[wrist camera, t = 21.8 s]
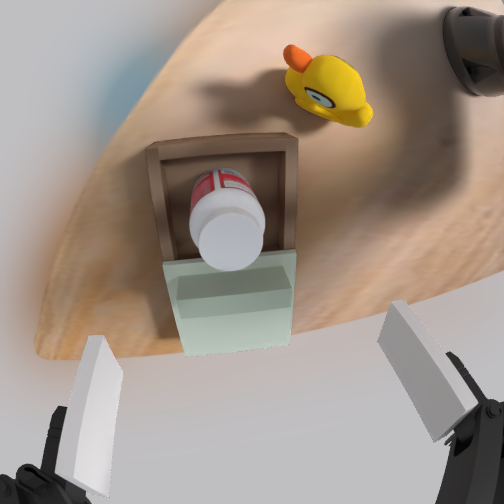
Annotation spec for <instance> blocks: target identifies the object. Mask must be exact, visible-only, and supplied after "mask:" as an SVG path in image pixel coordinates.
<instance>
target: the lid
mask: <svg viewBox="0 0 504 504" xmlns="http://www.w3.org/2000/svg"><path fill="white" fill-rule="evenodd" d="M296 258H297V252H296V250H295V249H290V250H280V251H270V252H260V254H259V256H258V257H257V258H256V260H255V261H254V262H253V263H251V264H250V265H249V266H247V267H245V268H243V269H240V270H236V271H221V270H218V269H215V268H213V267H211V266H210V265H208V264H207V263H206V262H205V261H204V259H203V258H197V259H186V260H176V261H165V262H163V265H162V266H163V271H164V275H165V280H166V284H167V289H168V293H169V297H170V301H171V305H172V309H173V313H174V317H175V321H176V325H177V328H178V332H179V336H180V339H181V343H182V347H183V350H184V353H185V356H199V355H211V354H220V353H231V352H240V351H248V350H256V349H264V348H271V347H277V346H284V345H290V335H291V324H292V313H293V301H294V288H295V274H296Z"/></svg>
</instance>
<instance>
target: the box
mask: <svg viewBox="0 0 504 504" xmlns="http://www.w3.org/2000/svg"><path fill="white" fill-rule="evenodd" d="M145 151H146V160H147V168H148V175H149V182H150V189H151V196H152V202H153V208H154V214H155V220H156V226H157V232H158V237H159V242H160V247H161V252H162V257H163V262H165V261H176V260H186V259H197V258H202V256H201V254H200V252H199V248H198V247H197V246H196V245H195V243H194V241H193V239H192V237H191V233H190V226H189V221H190V208H191V197H192V191H193V187H194V185H195V183H196V181H197V180H198V179H199V178H200V177H201V176H202V175H203V174H204V173H206V172H207V171H209V170H212V169H215V168H229V169H233V170H235V171H237V172H239V173H240V174H241V175H242V176H243V177H244V178H245V179H246V180H247V182H248V183H249V185H250V187H251V189H252V191H253V192H254V194H255V196H256V198H257V200H258V202H259V204H260V205H261V207H262V210H263V213H264V216H265V230H264V234H263V246H262V250H261V252H270V251H280V250H290V249H295V232H296V209H297V179H298V138H296V137H294V136H292V135H289V134H287V133H285V132H279V133H245V134H227V135H213V136H202V137H191V138H182V139H173V140H165V141H158V142H154V143H153V144H151V145H150V146H149V147H148V148H147V149H145Z"/></svg>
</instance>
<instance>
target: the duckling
mask: <svg viewBox="0 0 504 504" xmlns="http://www.w3.org/2000/svg"><path fill="white" fill-rule="evenodd" d="M283 55H284V59H285V61H286V63H287V64H288V65H289V66H290V67H289V69H288V70H287V73H286V75H285V83H286V86H287V87H288V89H289V90H290V92H291V93H292V94H293V95H294V96H295V97H296V98H295V102H296V103H297V105H299V106H300V107H301V108H303V109H305V110H307V111H309V112H311V113H313V114H315V115H318V116H320V117H323V118H325V119H328V120H331V121H334V122H338V123H340V124H343V125H347V126H352V127H364V126H366V125H367V124H368V123H369V122H370V120H371V118H372V116H373V110H372V108H371V106H370V105H369V104H368V103H367V102H366V101H365V99H366V96H365V91H364V88H363V84H362V80H361V78H360V76H359V74H358V72H357V71H356V70H355V69H354V67H353V66H351V65H350V64H349V63H348V62H346V61H345V60H343V59H341V58H338V57H336V56H332V55H320V56H317V57H315V58H314V59H312V57H311V56H310V55H309V54H307V53H306V52H304V51H303V50H301V49H300V48H298V47H296V46H295V45H288V46H286V48H285V49H284V52H283Z"/></svg>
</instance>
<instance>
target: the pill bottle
mask: <svg viewBox="0 0 504 504" xmlns="http://www.w3.org/2000/svg"><path fill="white" fill-rule="evenodd" d="M189 226H190V233H191V237H192V239H193V241H194V243H195V245H196V246H197V247H198V248H199V252H200V254H201V256H202V258H203V259H204V261H205V262H206V263H207V264H208V265H210V266H211V267H213V268H215V269H218V270H221V271H236V270H240V269H243V268H245V267H247V266H249V265H250V264H251V263H253V262H254V261H255V260H256V258H257V257H258V256H259V254H260V252H261V250H262V246H263V234H264V230H265V216H264V213H263V210H262V207H261V205H260V204H259V202H258V200H257V198H256V196H255V194H254V192H253V191H252V189H251V187H250V185H249V183H248V182H247V180H246V179H245V178H244V177H243V176H242V175H241V174H240V173H239V172H237V171H235V170H233V169H229V168H215V169H212V170H209V171H207V172H206V173H204V174H203V175H202V176H201V177H200V178H199V179H198V180H197V181H196V183H195V185H194V187H193V191H192V197H191V208H190V221H189Z"/></svg>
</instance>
